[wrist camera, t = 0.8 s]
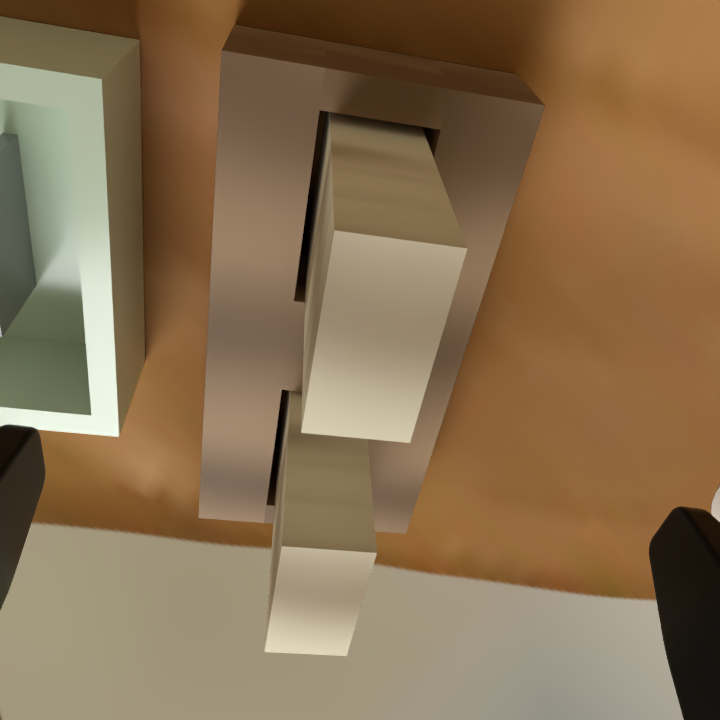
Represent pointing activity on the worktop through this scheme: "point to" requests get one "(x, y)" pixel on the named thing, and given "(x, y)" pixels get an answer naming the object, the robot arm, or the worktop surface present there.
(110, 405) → the green open tray
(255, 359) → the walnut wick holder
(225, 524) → the worktop surface
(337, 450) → the block
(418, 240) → the block
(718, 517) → the cylindrical container
